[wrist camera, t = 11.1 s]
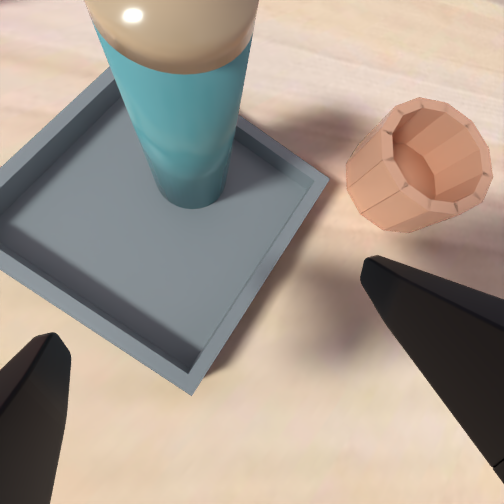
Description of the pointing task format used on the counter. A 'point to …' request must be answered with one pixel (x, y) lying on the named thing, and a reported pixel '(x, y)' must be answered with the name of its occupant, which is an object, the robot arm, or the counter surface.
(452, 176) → the terracotta cup
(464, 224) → the counter surface
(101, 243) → the tray
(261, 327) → the counter surface
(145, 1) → the spice jar
